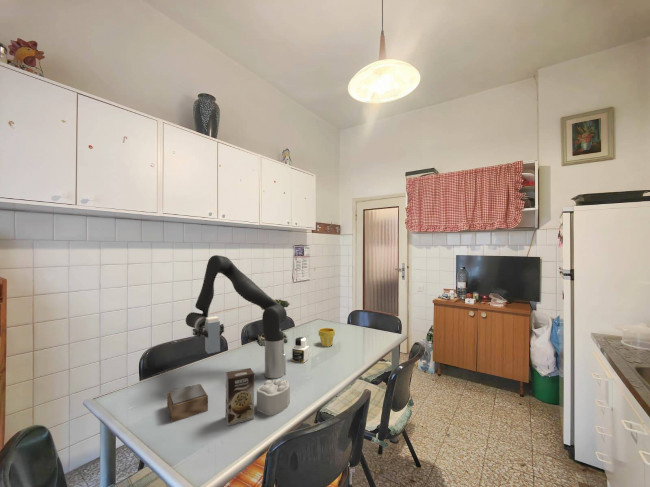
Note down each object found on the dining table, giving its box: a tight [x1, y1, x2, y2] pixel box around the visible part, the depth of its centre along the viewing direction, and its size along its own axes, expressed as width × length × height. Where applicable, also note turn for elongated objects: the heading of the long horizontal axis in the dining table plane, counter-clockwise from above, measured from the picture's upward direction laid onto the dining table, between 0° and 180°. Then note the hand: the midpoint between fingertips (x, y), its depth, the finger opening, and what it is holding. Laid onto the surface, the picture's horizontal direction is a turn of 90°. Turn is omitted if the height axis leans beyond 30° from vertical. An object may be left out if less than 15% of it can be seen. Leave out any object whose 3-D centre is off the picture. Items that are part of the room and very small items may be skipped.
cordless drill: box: [257, 299, 291, 347], centre depth 189 cm, size 18×19×28 cm
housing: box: [204, 315, 221, 355], centre depth 124 cm, size 5×5×14 cm
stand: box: [166, 383, 209, 423], centre depth 107 cm, size 12×12×6 cm
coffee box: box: [225, 367, 255, 426], centre depth 101 cm, size 9×6×16 cm
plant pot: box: [318, 327, 336, 347], centre depth 179 cm, size 10×10×10 cm
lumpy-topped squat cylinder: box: [256, 378, 291, 417], centre depth 109 cm, size 10×13×9 cm
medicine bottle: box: [291, 336, 310, 364], centre depth 155 cm, size 7×7×12 cm
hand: (214, 333), depth 122 cm, fingers closed on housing, 5 cm apart
